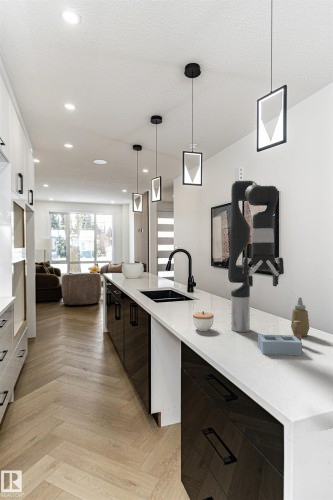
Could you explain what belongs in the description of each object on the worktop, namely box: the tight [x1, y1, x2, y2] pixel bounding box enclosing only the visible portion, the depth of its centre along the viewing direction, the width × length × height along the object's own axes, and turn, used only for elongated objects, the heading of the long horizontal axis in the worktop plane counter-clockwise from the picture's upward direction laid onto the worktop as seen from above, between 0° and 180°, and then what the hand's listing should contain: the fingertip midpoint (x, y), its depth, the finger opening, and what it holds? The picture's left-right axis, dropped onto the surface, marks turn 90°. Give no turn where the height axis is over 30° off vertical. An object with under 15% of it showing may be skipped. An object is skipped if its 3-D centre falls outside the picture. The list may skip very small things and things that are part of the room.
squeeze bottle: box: [290, 297, 310, 338], centre depth 138 cm, size 8×8×18 cm
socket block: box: [257, 334, 303, 356], centre depth 118 cm, size 9×15×5 cm, turn 84°
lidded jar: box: [192, 310, 215, 332], centre depth 149 cm, size 11×11×9 cm
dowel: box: [293, 321, 302, 342], centre depth 125 cm, size 3×3×10 cm
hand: (262, 286), depth 104 cm, fingers open, 8 cm apart
